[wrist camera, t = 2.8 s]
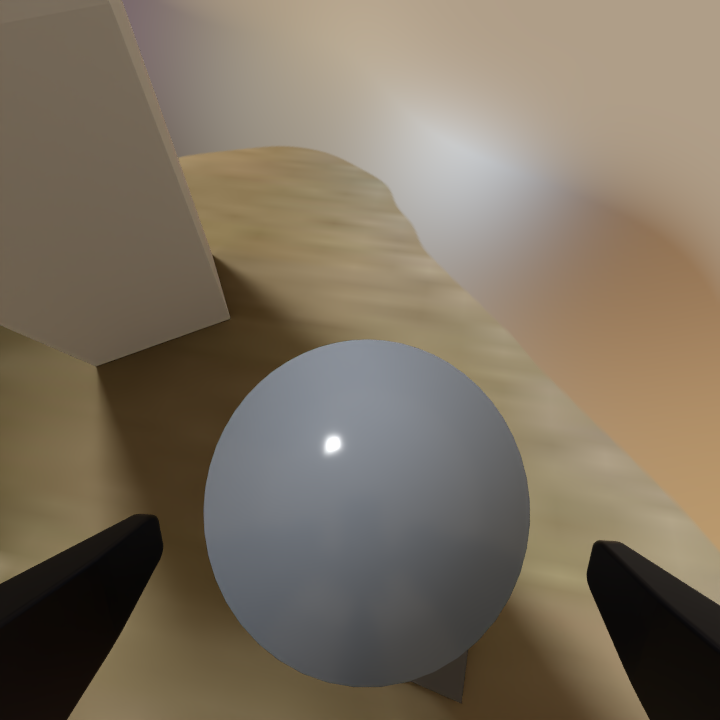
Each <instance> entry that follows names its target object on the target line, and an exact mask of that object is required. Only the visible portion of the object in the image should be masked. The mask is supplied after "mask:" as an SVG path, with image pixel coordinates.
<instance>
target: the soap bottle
mask: <svg viewBox="0 0 720 720" xmlns="http://www.w3.org/2000/svg"><path fill="white" fill-rule="evenodd" d="M228 319H231V318H230V315H229V311H228V308H227V304H226V301H225V297H224V294H223V291H222V287H221V284H220V280H219V277H218V273H217V270H216V266H215V263H214V259H213V256H212V253H211V250H210V247H209V244H208V241H207V239H206V236H205V233H204V230H203V227H202V225H201V222H200V219H199V216H198V213H197V210H196V208H195V205H194V202H193V199H192V196H191V194H190V191H189V188H188V185H187V182H186V180H185V177H184V174H183V171H182V168H181V165H180V163H179V160H178V157H177V154H176V152H175V149H174V146H173V143H172V140H171V137H170V135H169V132H168V129H167V126H166V123H165V120H164V118H163V115H162V112H161V110H160V107H159V104H158V101H157V98H156V95H155V92H154V90H153V87H152V84H151V81H150V78H149V75H148V73H147V70H146V67H145V64H144V61H143V59H142V56H141V53H140V50H139V47H138V45H137V42H136V39H135V36H134V33H133V31H132V28H131V25H130V22H129V19H128V16H127V14H126V11H125V8H124V5H123V2H122V0H0V325H1V326H4V327H6V328H8V329H10V330H13V331H15V332H17V333H20V334H22V335H24V336H27V337H29V338H31V339H34V340H36V341H38V342H40V343H43V344H45V345H47V346H50V347H52V348H54V349H57V350H59V351H61V352H64V353H66V354H68V355H71V356H73V357H75V358H77V359H80V360H82V361H84V362H87V363H89V364H91V365H94V366H98V365H101V364H104V363H107V362H110V361H113V360H115V359H118V358H121V357H124V356H127V355H129V354H132V353H135V352H138V351H141V350H144V349H146V348H149V347H152V346H155V345H158V344H160V343H163V342H166V341H169V340H172V339H175V338H177V337H180V336H183V335H186V334H189V333H191V332H194V331H197V330H200V329H203V328H206V327H208V326H211V325H214V324H217V323H220V322H222V321H225V320H228Z"/></svg>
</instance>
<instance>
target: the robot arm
mask: <svg viewBox="0 0 720 720" xmlns="http://www.w3.org/2000/svg"><path fill="white" fill-rule="evenodd" d="M162 552H163V541H162V536H161V531H160V525H159V521H158V518H157V517H156V516H155V515H151V514H135V515H133V516H131V517H129V518H127V519H125V520H123V521H121V522H119V523H117V524H115V525H113V526H111V527H109V528H108V529H106V530H104V531H102V532H100V533H98V534H96V535H94V536H92V537H90V538H88V539H86V540H84V541H82V542H80V543H79V544H77V545H75V546H73V547H71V548H69V549H67V550H65V551H63V552H61V553H59V554H57V555H55V556H53V557H51V558H50V559H48V560H46V561H44V562H42V563H40V564H38V565H36V566H34V567H32V568H30V569H28V570H26V571H24V572H22V573H21V574H19V575H17V576H15V577H13V578H11V579H9V580H7V581H5V582H3V583H1V584H0V720H67V719H68V717H69V716H70V714H71V713H72V711H73V709H74V708H75V706H76V705H77V703H78V701H79V700H80V698H81V697H82V695H83V693H84V692H85V690H86V689H87V687H88V686H89V684H90V682H91V681H92V679H93V678H94V676H95V674H96V673H97V671H98V670H99V668H100V666H101V665H102V663H103V662H104V660H105V659H106V657H107V655H108V654H109V652H110V650H111V649H112V647H113V645H114V644H115V642H116V640H117V639H118V637H119V635H120V633H121V632H122V630H123V628H124V626H125V624H126V623H127V621H128V619H129V617H130V615H131V613H132V611H133V609H134V607H135V605H136V604H137V602H138V600H139V598H140V596H141V594H142V592H143V590H144V588H145V587H146V585H147V583H148V581H149V579H150V577H151V575H152V573H153V571H154V570H155V568H156V566H157V564H158V562H159V560H160V558H161V555H162ZM587 582H588V585H589V588H590V591H591V593H592V595H593V597H594V600H595V602H596V604H597V607H598V609H599V611H600V614H601V616H602V618H603V621H604V623H605V625H606V627H607V630H608V632H609V634H610V637H611V639H612V641H613V644H614V646H615V648H616V651H617V653H618V655H619V658H620V660H621V662H622V664H623V667H624V669H625V671H626V673H627V675H628V678H629V680H630V682H631V684H632V686H633V688H634V690H635V692H636V694H637V696H638V698H639V700H640V702H641V704H642V706H643V708H644V710H645V711H646V713H647V715H648V717H649V719H650V720H720V605H718V604H717V603H715V602H714V601H712V600H710V599H709V598H707V597H706V596H704V595H703V594H701V593H699V592H698V591H696V590H695V589H693V588H692V587H690V586H688V585H687V584H685V583H684V582H682V581H681V580H679V579H678V578H676V577H674V576H673V575H671V574H670V573H668V572H667V571H665V570H663V569H662V568H660V567H659V566H657V565H656V564H654V563H652V562H651V561H649V560H648V559H646V558H645V557H643V556H641V555H640V554H638V553H637V552H635V551H634V550H632V549H631V548H629V547H627V546H626V545H624V544H623V543H620V542H617V541H604V540H599V541H596V542H595V543H594V544H593V547H592V552H591V556H590V560H589V565H588V569H587Z"/></svg>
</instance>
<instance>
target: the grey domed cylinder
mask: <svg viewBox="0 0 720 720" xmlns="http://www.w3.org/2000/svg"><path fill="white" fill-rule="evenodd" d="M529 526H530V500H529V492H528V485H527V477H526V474H525V470H524V466H523V462H522V458H521V455H520V452H519V450H518V447H517V445H516V442H515V440H514V437H513V435H512V433H511V431H510V430H509V428H508V426H507V424H506V422H505V420H504V418H503V417H502V415H501V414H500V413H499V411H498V410H497V408H496V407H495V405H494V404H493V403H492V401H491V400H490V399H489V398H488V397H487V396H486V394H485V393H484V392H483V391H482V390H481V389H480V388H479V387H478V386H477V385H476V384H475V383H474V382H473V381H472V380H471V379H469V378H468V377H467V376H466V375H465V374H464V373H462V372H461V371H459V370H458V369H457V368H455V367H454V366H452V365H451V364H450V363H448V362H446V361H444V360H442V359H440V358H439V357H437V356H435V355H433V354H431V353H428V352H426V351H423V350H421V349H419V348H415V347H412V346H408V345H405V344H401V343H396V342H390V341H383V340H350V341H344V342H337V343H333V344H329V345H325V346H322V347H318V348H316V349H313V350H310V351H308V352H305V353H303V354H301V355H299V356H297V357H295V358H293V359H291V360H289V361H288V362H286V363H285V364H283V365H282V366H280V367H279V368H277V369H276V370H274V371H273V372H271V373H270V374H269V375H268V376H267V377H265V378H264V379H263V380H262V381H261V382H259V383H258V385H257V386H256V387H255V388H254V389H253V390H252V391H251V392H250V393H249V394H248V395H247V396H246V397H245V399H244V400H243V401H242V402H241V404H240V405H239V406H238V408H237V409H236V410H235V412H234V413H233V415H232V417H231V418H230V420H229V422H228V423H227V425H226V427H225V428H224V431H223V433H222V435H221V437H220V439H219V441H218V444H217V446H216V449H215V452H214V455H213V458H212V461H211V464H210V467H209V472H208V477H207V482H206V487H205V498H204V533H205V539H206V544H207V550H208V556H209V559H210V563H211V566H212V569H213V572H214V576H215V579H216V581H217V583H218V586H219V588H220V590H221V592H222V594H223V596H224V598H225V601H226V603H227V604H228V606H229V607H230V609H231V610H232V612H233V613H234V615H235V616H236V618H237V619H238V621H239V622H240V624H241V625H242V626H243V627H244V628H245V629H246V631H247V632H248V633H249V634H250V635H251V636H252V637H253V638H254V639H255V641H256V642H257V643H258V644H259V645H261V646H262V647H263V648H264V649H266V650H267V651H268V652H269V653H271V654H272V655H273V656H274V657H275V658H277V659H278V660H280V661H281V662H283V663H285V664H287V665H288V666H290V667H292V668H294V669H295V670H297V671H299V672H301V673H303V674H305V675H308V676H311V677H314V678H317V679H319V680H322V681H325V682H328V683H334V684H340V685H345V686H351V687H383V686H388V685H394V684H399V683H404V682H409V681H412V680H414V679H417V678H420V677H422V676H425V675H427V674H430V673H433V672H435V671H437V670H438V669H440V668H442V667H443V666H445V665H447V664H448V663H450V662H452V661H453V660H455V659H457V658H458V657H459V656H461V655H462V654H463V653H464V652H465V651H466V650H468V649H469V648H470V647H471V646H472V645H474V644H475V643H476V642H477V641H478V640H479V639H480V638H481V637H482V636H483V634H484V633H485V632H486V631H487V630H488V629H489V627H490V626H491V625H492V624H493V623H494V622H495V620H496V619H497V617H498V616H499V614H500V612H501V611H502V609H503V608H504V606H505V604H506V603H507V601H508V599H509V598H510V596H511V593H512V591H513V589H514V586H515V584H516V582H517V579H518V577H519V575H520V572H521V568H522V564H523V560H524V557H525V553H526V549H527V542H528V534H529Z"/></svg>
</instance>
